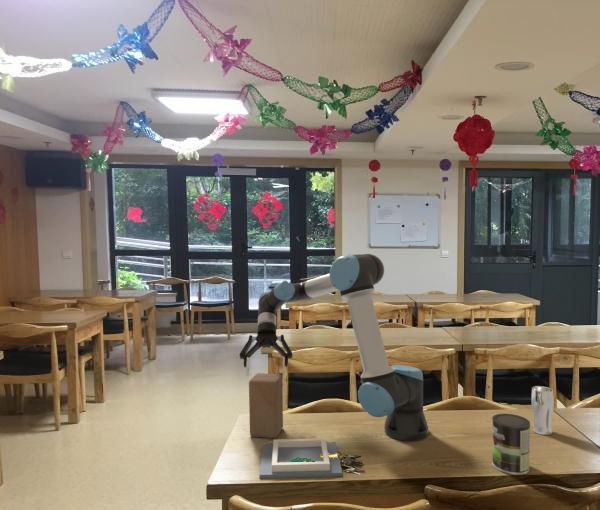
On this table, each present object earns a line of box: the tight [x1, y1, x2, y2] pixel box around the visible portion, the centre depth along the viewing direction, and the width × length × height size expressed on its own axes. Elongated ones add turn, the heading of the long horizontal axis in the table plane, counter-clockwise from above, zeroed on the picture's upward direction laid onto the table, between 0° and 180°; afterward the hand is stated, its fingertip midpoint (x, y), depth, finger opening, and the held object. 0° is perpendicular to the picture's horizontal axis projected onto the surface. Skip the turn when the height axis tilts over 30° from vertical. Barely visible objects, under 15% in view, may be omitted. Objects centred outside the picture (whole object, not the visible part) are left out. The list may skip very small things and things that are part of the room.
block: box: [248, 372, 284, 439], centre depth 164 cm, size 10×10×20 cm
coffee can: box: [491, 413, 531, 476], centre depth 138 cm, size 10×10×14 cm
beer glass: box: [530, 385, 555, 436], centre depth 162 cm, size 7×7×15 cm
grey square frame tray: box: [259, 437, 343, 479], centre depth 144 cm, size 24×20×3 cm
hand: (265, 374), depth 172 cm, fingers open, 13 cm apart
